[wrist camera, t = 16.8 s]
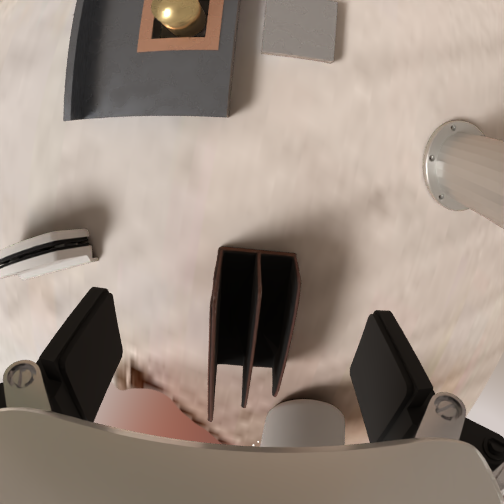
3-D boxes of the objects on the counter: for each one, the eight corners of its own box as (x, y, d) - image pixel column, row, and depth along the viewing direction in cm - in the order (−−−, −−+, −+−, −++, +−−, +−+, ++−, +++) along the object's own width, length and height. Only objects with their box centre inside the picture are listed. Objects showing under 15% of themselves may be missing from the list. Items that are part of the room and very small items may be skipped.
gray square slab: (334, 5, 27) (337, 2, 26) (330, 63, 31) (333, 61, 29) (267, -5, 27) (267, -9, 26) (261, 54, 30) (261, 51, 29)
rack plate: (247, -54, 24) (246, -77, 18) (228, 117, 34) (223, 117, 28) (111, -42, 23) (92, -58, 18) (88, 118, 33) (63, 121, 28)
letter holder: (213, 358, 49) (203, 429, 36) (218, 244, 40) (203, 307, 28) (275, 363, 49) (280, 434, 36) (296, 251, 41) (314, 316, 28)
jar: (270, 443, 59) (273, 545, 37) (231, 412, 54) (223, 531, 32) (351, 413, 55) (376, 521, 32) (322, 375, 50) (347, 508, 27)
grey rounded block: (27, 279, 43) (-14, 289, 33) (22, 252, 43) (-20, 257, 33) (100, 260, 41) (58, 269, 31) (93, 227, 41) (50, 229, 31)
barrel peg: (208, 5, 28) (198, -17, 21) (204, 37, 30) (193, 21, 23) (171, 6, 28) (154, -14, 21) (166, 38, 29) (148, 23, 23)
